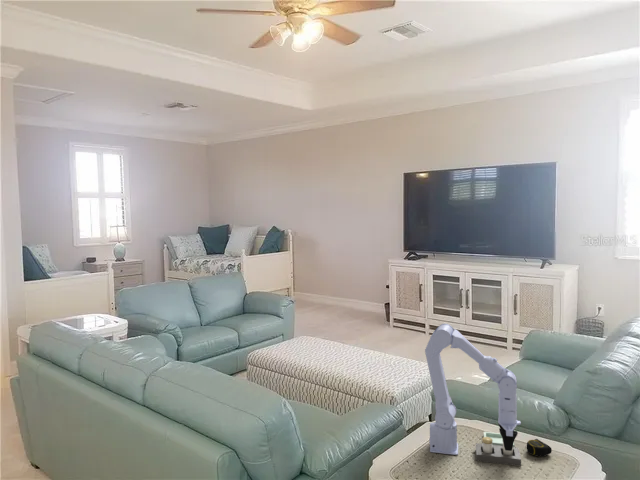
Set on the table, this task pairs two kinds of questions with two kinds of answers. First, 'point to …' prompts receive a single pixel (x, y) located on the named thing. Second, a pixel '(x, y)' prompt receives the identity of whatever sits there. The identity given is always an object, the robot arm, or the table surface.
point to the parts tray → (495, 438)
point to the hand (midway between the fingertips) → (507, 447)
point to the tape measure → (538, 448)
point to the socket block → (498, 455)
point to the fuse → (487, 445)
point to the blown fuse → (506, 452)
